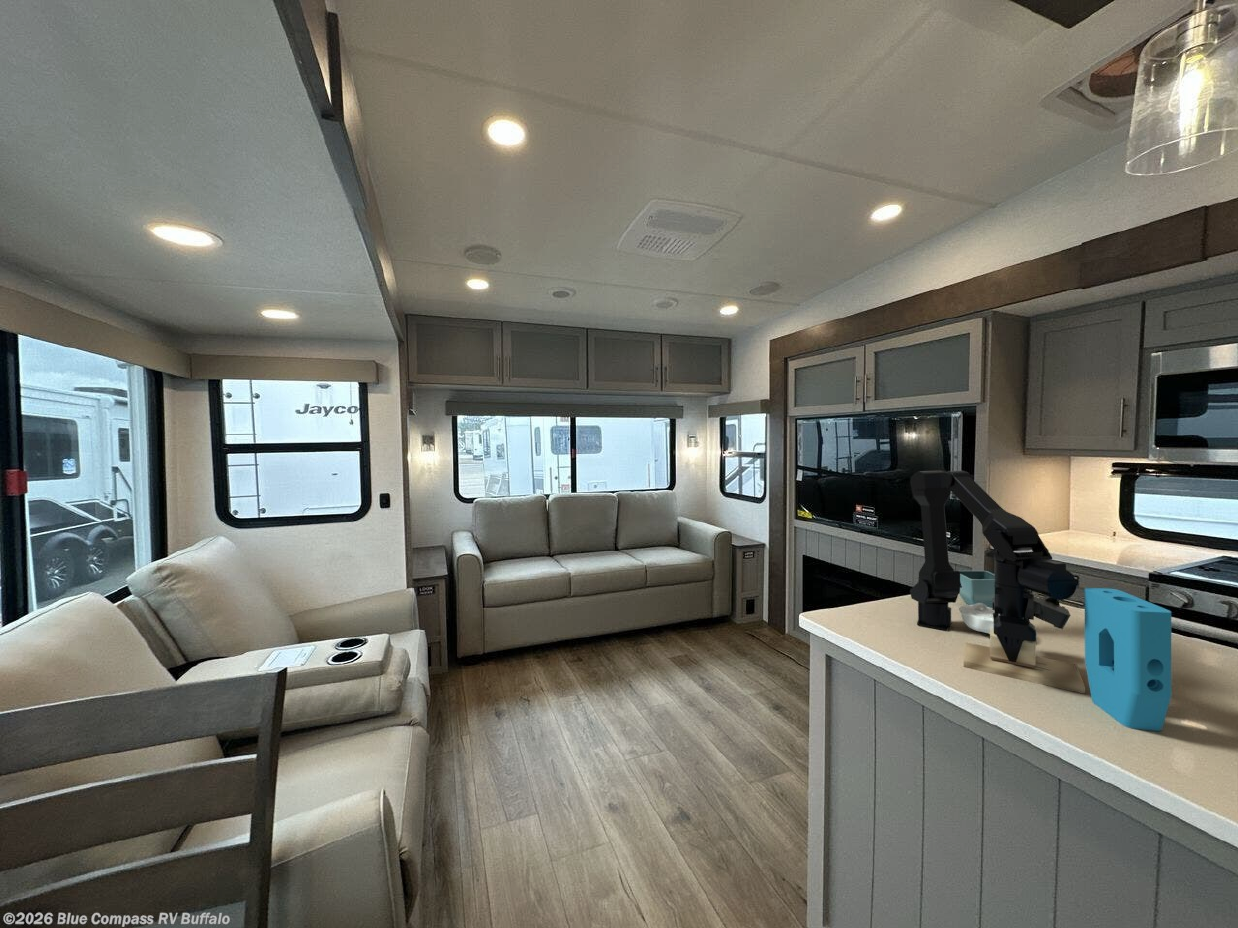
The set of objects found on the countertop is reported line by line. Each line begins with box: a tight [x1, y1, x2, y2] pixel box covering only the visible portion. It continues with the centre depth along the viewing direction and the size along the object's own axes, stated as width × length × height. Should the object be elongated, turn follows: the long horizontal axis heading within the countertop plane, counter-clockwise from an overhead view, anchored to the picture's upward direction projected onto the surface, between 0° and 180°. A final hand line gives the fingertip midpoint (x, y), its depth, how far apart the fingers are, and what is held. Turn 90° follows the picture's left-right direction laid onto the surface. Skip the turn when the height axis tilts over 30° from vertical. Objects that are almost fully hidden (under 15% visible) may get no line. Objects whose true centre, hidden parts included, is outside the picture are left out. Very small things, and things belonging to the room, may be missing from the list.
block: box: [1084, 587, 1172, 732], centre depth 78 cm, size 12×5×20 cm, turn 164°
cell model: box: [958, 603, 995, 635], centre depth 112 cm, size 10×12×7 cm
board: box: [963, 642, 1086, 694], centre depth 95 cm, size 18×11×1 cm, turn 51°
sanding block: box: [989, 628, 1037, 668], centre depth 95 cm, size 7×4×5 cm, turn 52°
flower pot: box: [958, 570, 995, 608], centre depth 129 cm, size 9×9×9 cm
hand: (1011, 656), depth 95 cm, fingers closed on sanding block, 4 cm apart
